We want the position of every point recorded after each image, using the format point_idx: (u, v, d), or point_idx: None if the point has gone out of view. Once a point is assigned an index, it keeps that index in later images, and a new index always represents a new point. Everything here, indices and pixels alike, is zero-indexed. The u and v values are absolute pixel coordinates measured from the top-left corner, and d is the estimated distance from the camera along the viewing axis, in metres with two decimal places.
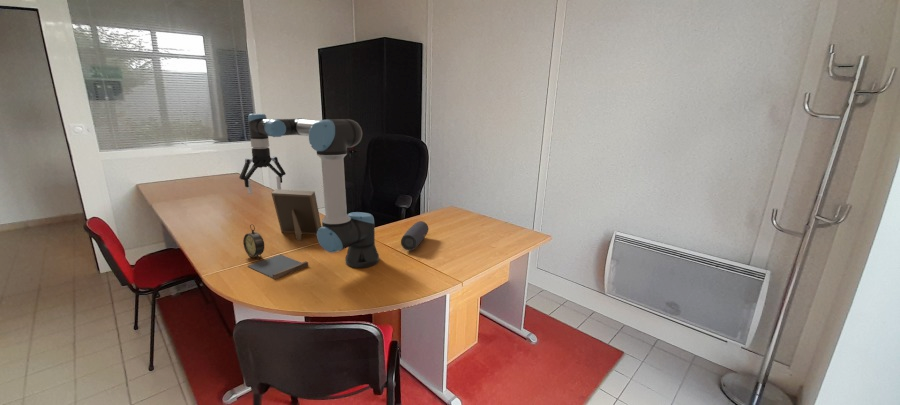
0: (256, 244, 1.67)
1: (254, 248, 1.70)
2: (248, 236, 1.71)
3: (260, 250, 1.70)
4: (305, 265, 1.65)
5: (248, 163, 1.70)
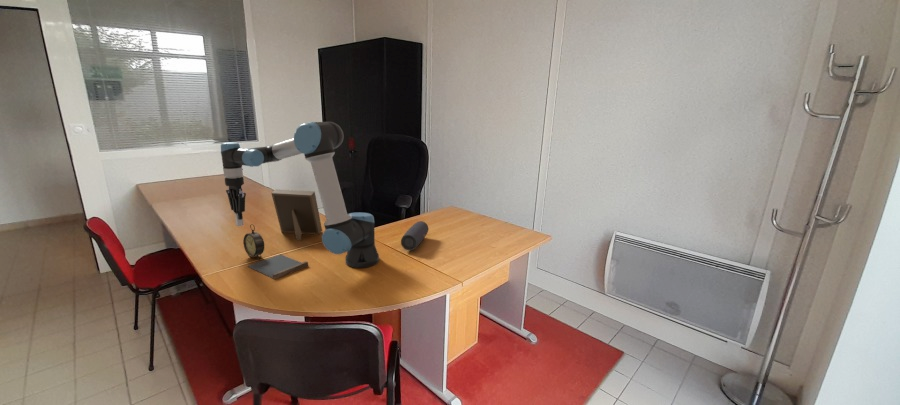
0: (256, 244, 1.67)
1: (254, 248, 1.70)
2: (248, 236, 1.71)
3: (260, 250, 1.70)
4: (305, 265, 1.65)
5: (227, 193, 1.74)
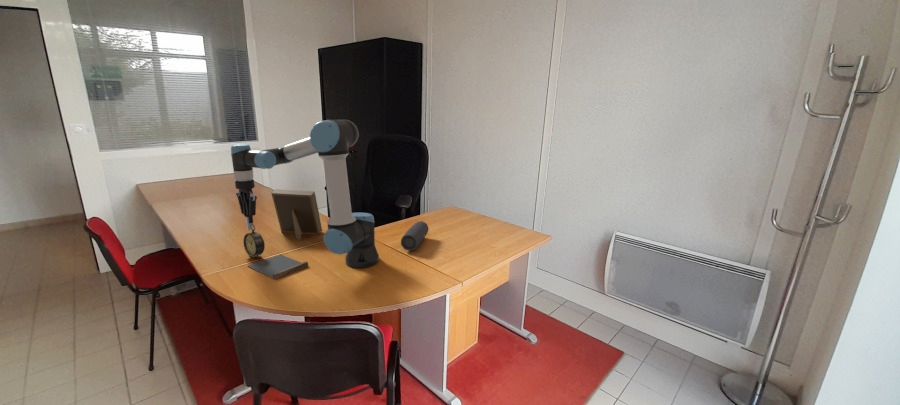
0: (256, 244, 1.67)
1: (254, 248, 1.69)
2: (248, 236, 1.71)
3: (260, 250, 1.70)
4: (305, 265, 1.65)
5: (238, 196, 1.69)
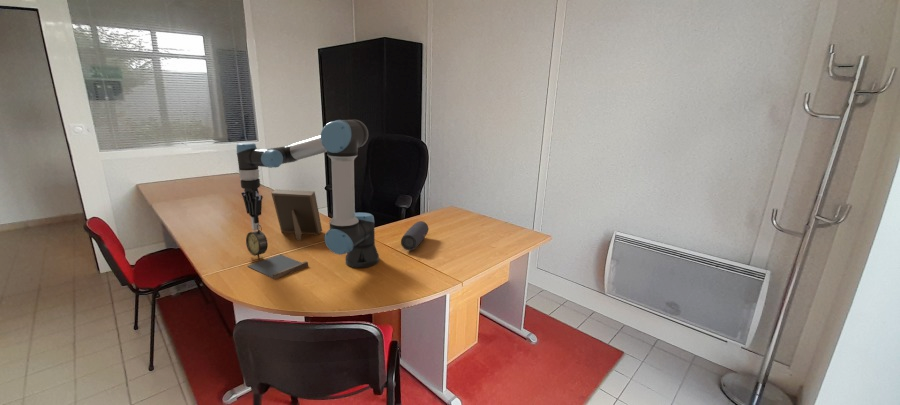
0: (260, 246, 1.66)
1: (256, 249, 1.69)
2: (253, 234, 1.69)
3: (263, 251, 1.69)
4: (305, 265, 1.65)
5: (243, 196, 1.66)
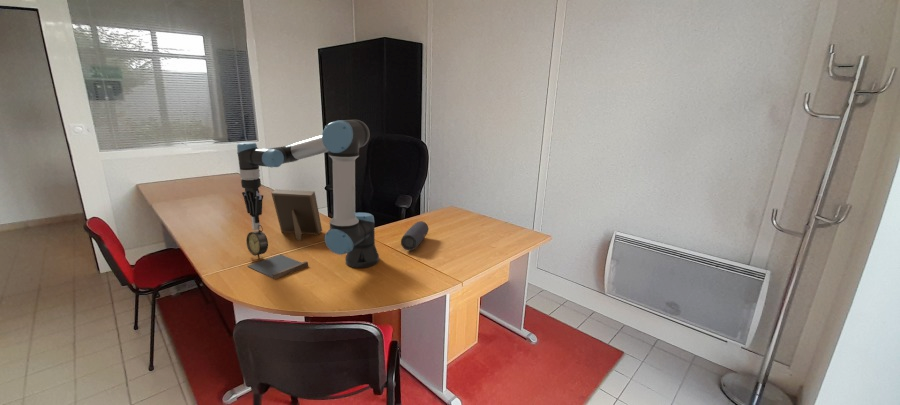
0: (260, 247, 1.66)
1: (257, 249, 1.68)
2: (253, 234, 1.68)
3: (263, 252, 1.69)
4: (305, 265, 1.65)
5: (244, 196, 1.66)
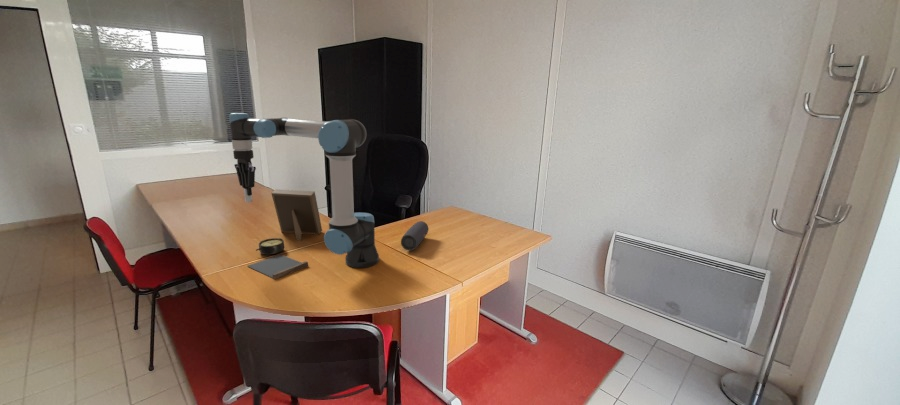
0: (283, 242, 1.81)
1: (275, 244, 1.78)
2: (271, 240, 1.83)
3: (280, 248, 1.78)
4: (305, 265, 1.65)
5: (236, 168, 1.65)
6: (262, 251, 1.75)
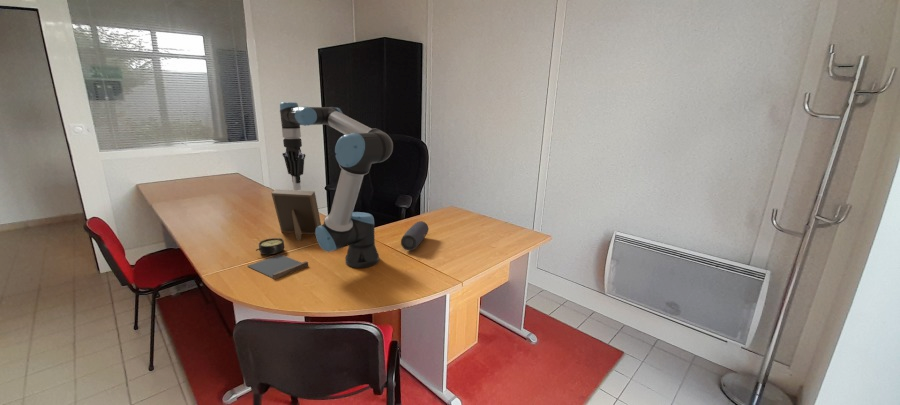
0: (283, 242, 1.81)
1: (275, 244, 1.78)
2: (271, 240, 1.83)
3: (280, 248, 1.78)
4: (305, 265, 1.65)
5: (284, 157, 1.69)
6: (262, 251, 1.75)
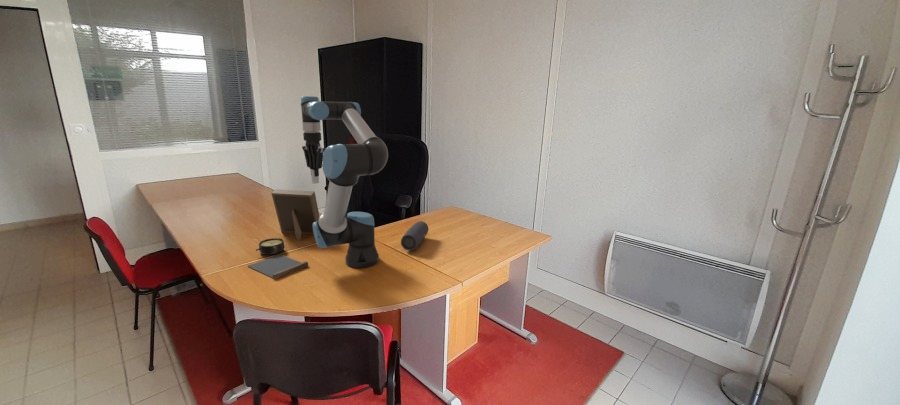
0: (283, 242, 1.81)
1: (275, 244, 1.78)
2: (271, 240, 1.83)
3: (280, 248, 1.78)
4: (305, 265, 1.65)
5: (304, 150, 1.71)
6: (262, 251, 1.75)
